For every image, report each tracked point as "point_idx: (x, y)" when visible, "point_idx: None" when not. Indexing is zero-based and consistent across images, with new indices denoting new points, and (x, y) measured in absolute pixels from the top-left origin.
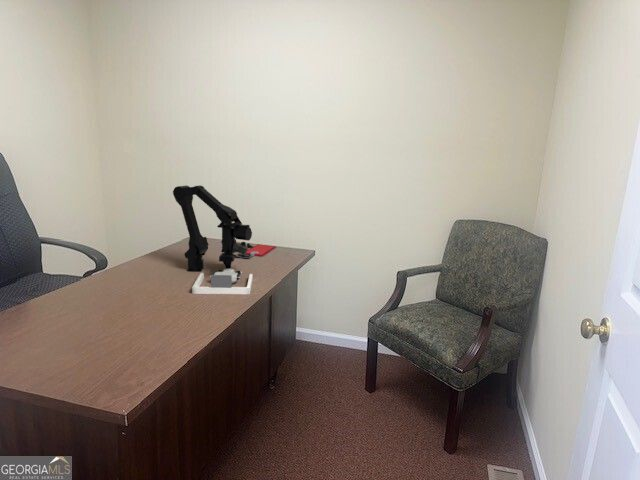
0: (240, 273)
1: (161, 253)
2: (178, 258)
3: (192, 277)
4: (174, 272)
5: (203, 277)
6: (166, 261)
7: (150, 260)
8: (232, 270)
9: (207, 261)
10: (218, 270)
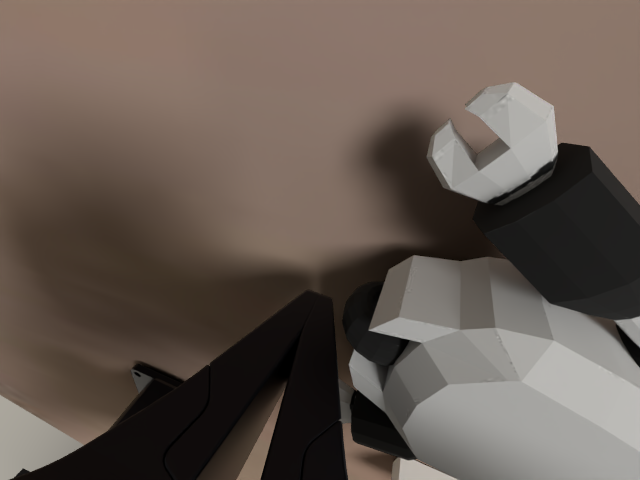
0: (583, 152)
1: (10, 395)
2: (35, 381)
3: (353, 474)
4: (246, 472)
5: (413, 474)
6: (95, 423)
7: None
8: (638, 433)
9: (2, 297)
10: (370, 447)
